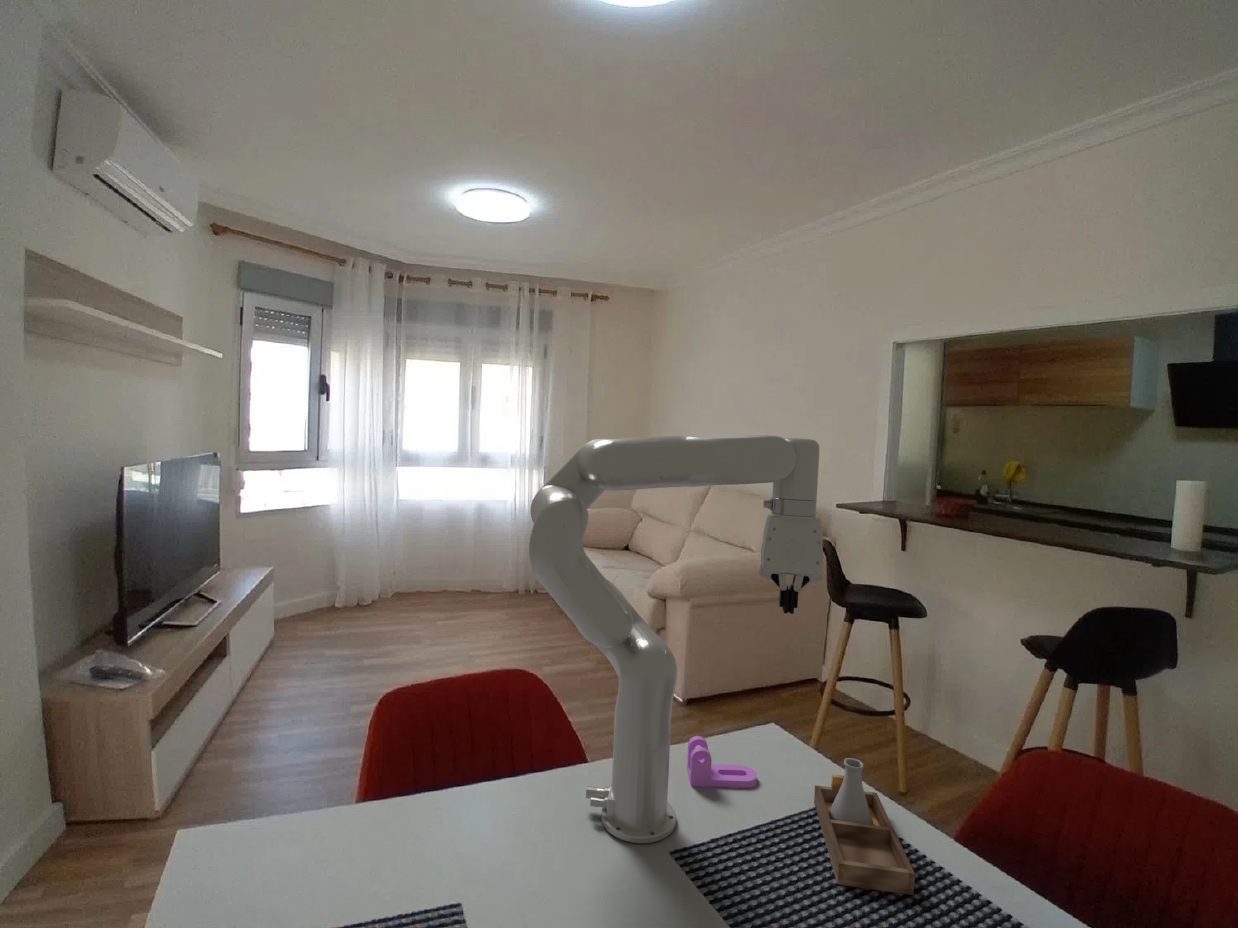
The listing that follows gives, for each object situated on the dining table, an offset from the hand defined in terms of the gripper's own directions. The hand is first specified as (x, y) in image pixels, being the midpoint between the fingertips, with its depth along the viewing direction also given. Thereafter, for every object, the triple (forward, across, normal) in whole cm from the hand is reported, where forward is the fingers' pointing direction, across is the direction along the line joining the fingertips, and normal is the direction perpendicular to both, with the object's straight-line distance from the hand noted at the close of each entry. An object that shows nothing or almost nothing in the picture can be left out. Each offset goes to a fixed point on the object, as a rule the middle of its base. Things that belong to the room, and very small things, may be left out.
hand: (787, 611), depth 107 cm
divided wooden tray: (+35, +12, -8) cm, 38 cm away
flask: (+34, +12, -4) cm, 36 cm away
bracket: (+35, -10, +6) cm, 37 cm away
